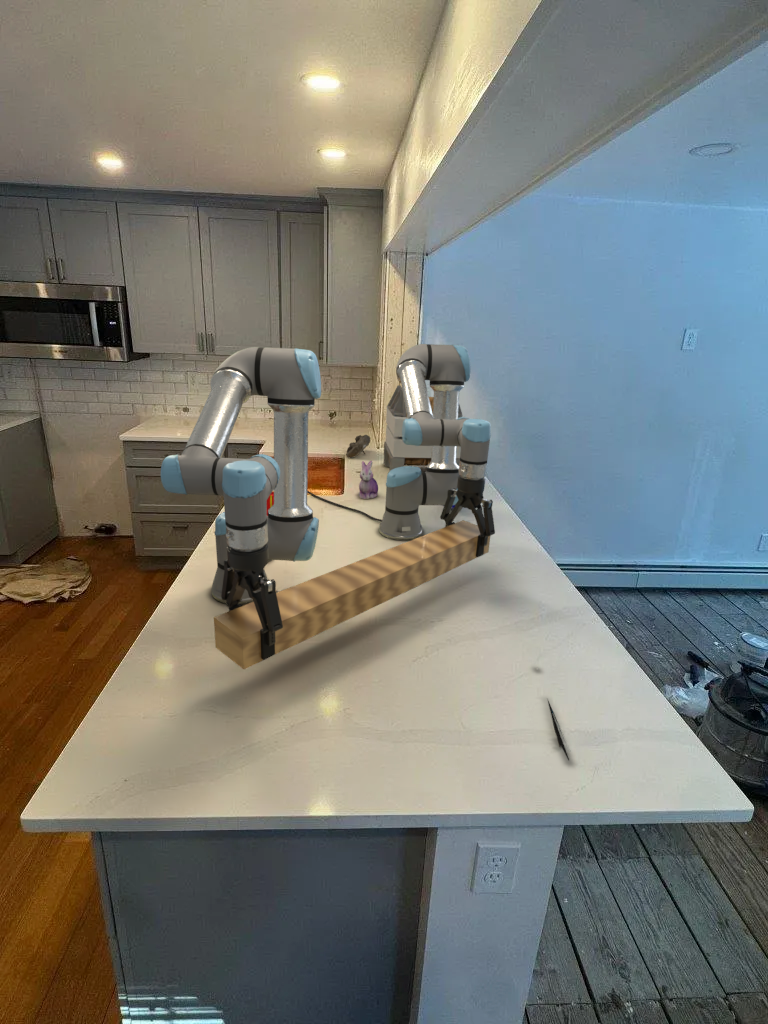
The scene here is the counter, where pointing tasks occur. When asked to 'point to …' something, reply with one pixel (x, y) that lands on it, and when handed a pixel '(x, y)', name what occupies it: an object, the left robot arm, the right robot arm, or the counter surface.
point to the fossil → (358, 446)
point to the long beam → (347, 592)
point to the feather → (557, 730)
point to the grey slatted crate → (394, 445)
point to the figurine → (367, 482)
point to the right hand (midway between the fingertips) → (464, 549)
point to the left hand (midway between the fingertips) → (252, 644)
